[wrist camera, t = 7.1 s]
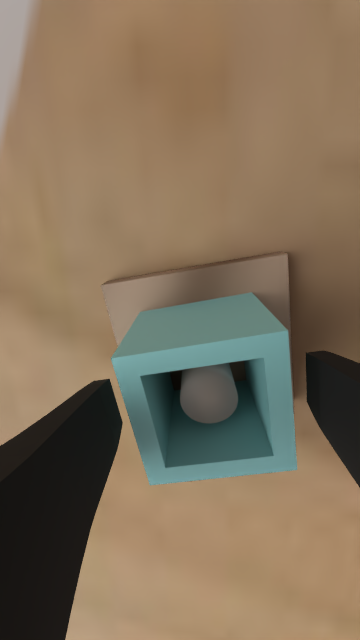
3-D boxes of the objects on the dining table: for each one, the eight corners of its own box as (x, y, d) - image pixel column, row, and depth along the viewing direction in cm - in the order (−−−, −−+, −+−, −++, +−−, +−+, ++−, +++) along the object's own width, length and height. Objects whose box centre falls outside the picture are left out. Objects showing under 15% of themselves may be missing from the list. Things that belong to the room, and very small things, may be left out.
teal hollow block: (251, 292, 11) (288, 330, 7) (262, 390, 13) (297, 469, 9) (139, 311, 12) (111, 358, 8) (163, 403, 13) (149, 485, 9)
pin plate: (279, 251, 12) (330, 264, 7) (287, 401, 14) (328, 475, 10) (107, 281, 12) (64, 308, 8) (143, 418, 15) (124, 493, 11)
